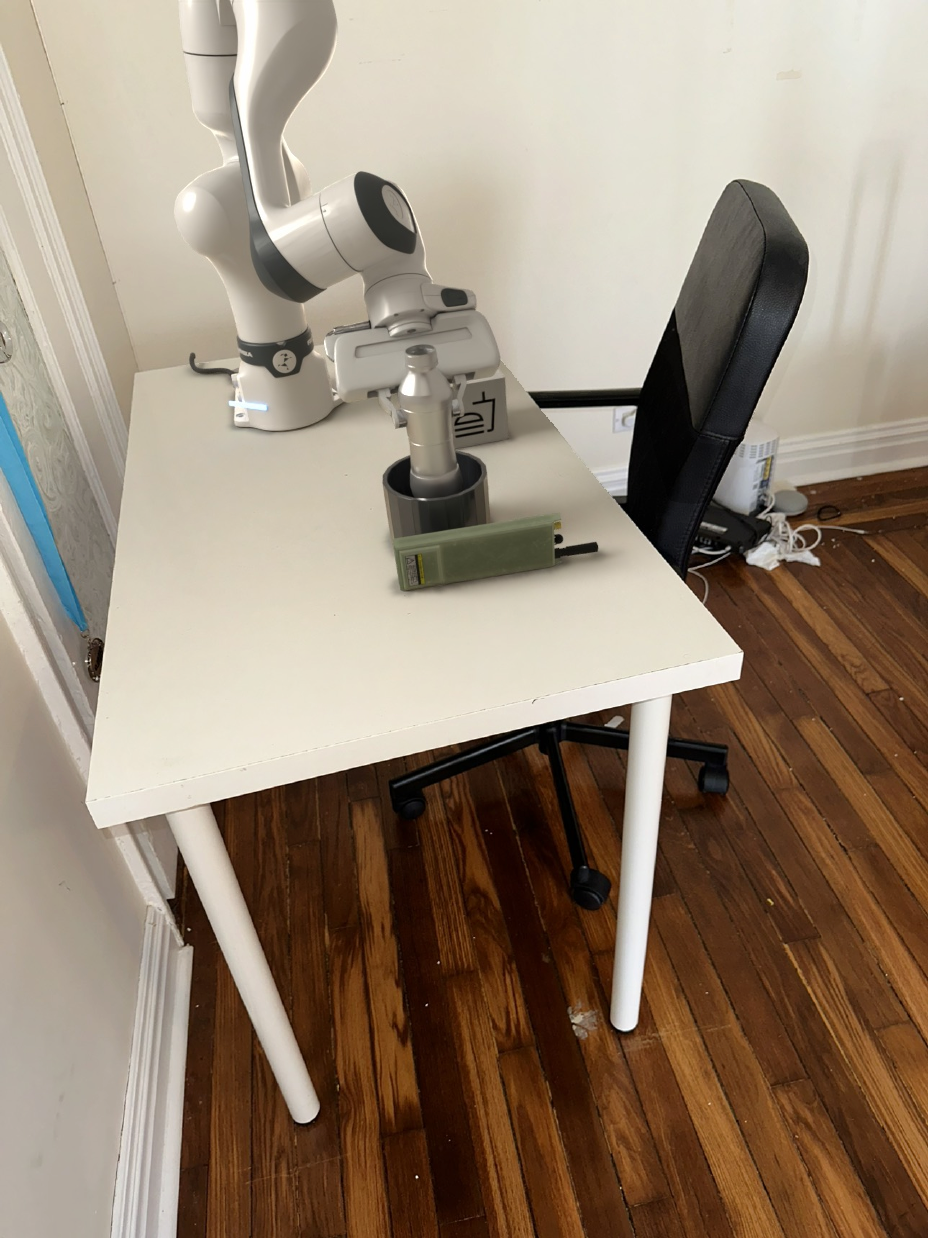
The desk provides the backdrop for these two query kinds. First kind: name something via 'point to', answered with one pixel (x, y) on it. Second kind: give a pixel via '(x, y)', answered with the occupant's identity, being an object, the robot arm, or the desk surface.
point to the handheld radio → (482, 551)
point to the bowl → (436, 500)
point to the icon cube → (481, 412)
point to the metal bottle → (429, 425)
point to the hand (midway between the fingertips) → (430, 420)
